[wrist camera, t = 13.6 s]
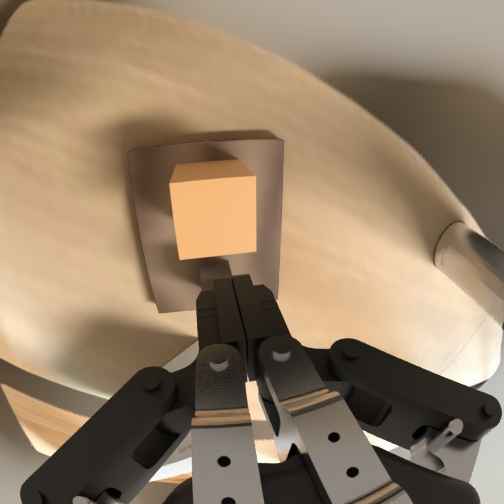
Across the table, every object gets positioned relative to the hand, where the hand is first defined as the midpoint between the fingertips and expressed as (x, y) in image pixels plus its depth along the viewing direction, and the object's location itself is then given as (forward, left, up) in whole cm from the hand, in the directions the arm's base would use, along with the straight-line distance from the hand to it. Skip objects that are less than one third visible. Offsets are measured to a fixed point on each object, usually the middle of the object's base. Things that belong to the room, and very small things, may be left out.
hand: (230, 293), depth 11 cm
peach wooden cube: (0, 0, -15) cm, 15 cm away
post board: (0, +4, -17) cm, 17 cm away
